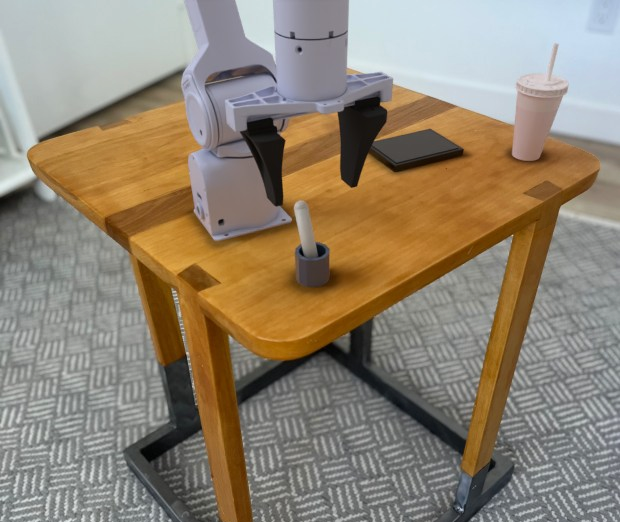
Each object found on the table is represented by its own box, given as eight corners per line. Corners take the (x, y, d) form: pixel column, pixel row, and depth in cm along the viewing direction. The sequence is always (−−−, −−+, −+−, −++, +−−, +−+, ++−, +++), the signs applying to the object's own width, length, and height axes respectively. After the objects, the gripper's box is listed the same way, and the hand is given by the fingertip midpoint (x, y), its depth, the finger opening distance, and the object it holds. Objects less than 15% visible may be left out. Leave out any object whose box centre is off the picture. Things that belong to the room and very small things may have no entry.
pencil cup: (305, 293, 61) (304, 263, 59) (290, 276, 64) (289, 246, 61) (335, 284, 62) (335, 254, 60) (320, 267, 65) (319, 238, 62)
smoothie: (552, 167, 81) (582, 53, 72) (502, 163, 82) (525, 50, 73) (548, 147, 86) (576, 37, 76) (501, 143, 87) (522, 35, 77)
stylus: (312, 283, 61) (295, 202, 58) (307, 280, 63) (290, 202, 60) (325, 279, 62) (309, 199, 59) (319, 277, 63) (303, 198, 60)
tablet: (394, 172, 81) (395, 164, 80) (364, 149, 86) (364, 142, 85) (463, 155, 84) (464, 148, 84) (429, 134, 90) (430, 127, 89)
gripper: (242, 58, 43) (256, 230, 52) (419, 29, 47) (403, 192, 56) (208, 32, 47) (227, 195, 56) (372, 9, 52) (364, 162, 61)
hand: (312, 192), depth 57 cm, fingers open, 7 cm apart
